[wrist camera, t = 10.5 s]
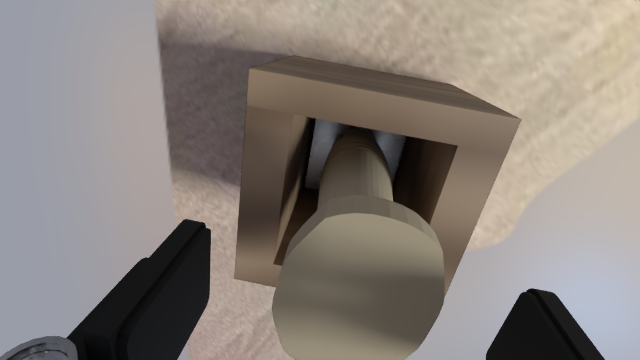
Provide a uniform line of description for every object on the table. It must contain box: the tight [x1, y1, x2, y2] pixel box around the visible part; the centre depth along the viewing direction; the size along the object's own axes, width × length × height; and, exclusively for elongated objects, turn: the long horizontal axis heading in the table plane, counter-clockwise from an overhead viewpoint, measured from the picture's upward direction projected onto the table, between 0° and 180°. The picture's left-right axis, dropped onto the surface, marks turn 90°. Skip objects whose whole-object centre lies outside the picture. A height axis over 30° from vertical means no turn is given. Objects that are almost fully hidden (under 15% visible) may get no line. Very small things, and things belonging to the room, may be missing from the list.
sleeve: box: [234, 56, 522, 298], centre depth 20 cm, size 11×11×10 cm
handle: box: [272, 128, 445, 360], centre depth 17 cm, size 5×6×15 cm
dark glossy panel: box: [305, 119, 406, 190], centre depth 24 cm, size 7×6×1 cm
